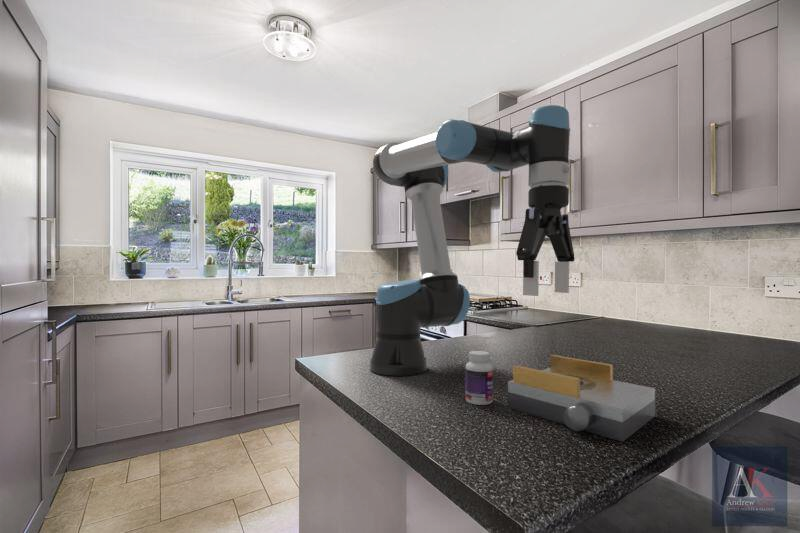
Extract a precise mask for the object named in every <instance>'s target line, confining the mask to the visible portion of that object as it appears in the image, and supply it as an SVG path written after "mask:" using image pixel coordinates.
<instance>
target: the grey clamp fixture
mask: <svg viewBox="0 0 800 533" xmlns="http://www.w3.org/2000/svg"><path fill="white" fill-rule="evenodd" d="M549 356H550V363H549V364H550V367H547V368H544V369H542V370H541V369H538V368H537V369H536V368H532V367H526V366H522V365H517V364H516V365H514V366H512V372H513V373H512V379H511V380H509V381H507V408H508V409H512V410H514V411H517V412H521V413H525V414H527V415H531V416H534V417H539V418H541V419H544V420H548V421H552V422H555V423H558V424H561V425H564V426H567V427H568V428H569V429H571V430H573V432H581V431H584V432H589V433H591V434H595V435H599V436H602V437H605V438H608V439H611V440H615V441H619V442H621V443H624V442H625V441H626V440H627V439H628V438H630V437H631V436H632V435H634V434H635V433H636V432H638V430H640V429H641V428H642V427H644V426H645V425H646V424H648V423H649V422H650V421H651V420H652V419H654V418H655V417H656V388H655V387H649V386H645V385H640V384H634V383H630V382H624V381H620V380H614V378H613V376H614V371H613V370H614V369H613V368H614V367H613V366H614V365H613V364H611V363H605V362H597V361H592V360H587V359H586V360H585V359H581V358H580V359H579V358H574V357H569V356H568V357H567V356H563V355H558V354H551V355H549Z"/></svg>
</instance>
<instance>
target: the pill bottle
mask: <svg viewBox="0 0 800 533" xmlns="http://www.w3.org/2000/svg"><path fill="white" fill-rule="evenodd" d="M468 353H469V354H468V359H469V361H468V362H467V363H466V364H465V401H466V402H467V403H469V404H472V405H477V406H485V405H490V404H491V403H493V400H494V367H493V365H492V364H491V363H490V362H489V361H490V352H488V351H484V350H471V351H469V352H468Z"/></svg>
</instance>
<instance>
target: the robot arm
mask: <svg viewBox="0 0 800 533" xmlns="http://www.w3.org/2000/svg"><path fill="white" fill-rule="evenodd" d="M527 122H528V126H525V127H524V128H521V129H518V130H516V131H513V132H511V131H505V130H502V129H498V128H494V127H488V126H486V125H480V124H477V123H472V122H469V121H467V120H465V119H462V120H461V119H458V120H457V119H447V120H445V121H444V122H443V123H442V125H440V126H439V128H438V130H437V131H436V132H434V133H431V134H427V135H425V136H420V137H418V138H415V139H412V140H408V141H405V142H403V143H398V142H390V143H386V144H384V145H383V146H381V147H379V148H378V149H377V150H376V152H375V154H374V156H373V159H372V166H373V171H374V174H376V176H377V177H378V179H379V180H381V181H382V182H383V183H385V184H387V185H391V186H396V187H401V188H404V194H405V197H406V199H408V200H409V201H411V208H412V215H413V224H414V230H415V237H416V244H417V245H416V246H417V251H418V252H417V253H418V258H419V265H420V272H421V273H420V274H421V275H420V277H419V278H418V279H408V280H399V281H397V280H396V281H391V282H386V283H383V284H380V286H378V288H377V290H376V292H377V293H376V301H375V304H376V341H375V345H374V346H373V347H374V348H373V351H372V355H371V358H370V360H369V371H371V372H373V373H374V374H379V375H383V376H384V375H385V376H395V377H396V376H397V377H398V376H399V377H401V376H413V375H419V374H422V373H425V372H426V371H427V369H428V364H427V363H428V361H427V360H428V359H427V358H426V357H425V352H424V349H423V345H422V341H421V328H431V327H449V326H452V325H457V324H460V323H462V322H463V321H464V320H465V319H466V317H467V314H468V313H469V310H470V305H471V298H470V297H471V296H470V293H469V291H468V289H467V288H466V286H465V285H463V284H461V283H459V280H458V274H456V273H454V272H453V271H452V269H451V263H450V257H449V250H448V244H447V237H446V230H445V224H444V218H443V212H442V205H441V200H440V195H441V194H442V193H443V192H444V188H445V187H446V185H447V183H448V178H447V177H449V167H448V165H453V164H460V163H465V162H466V163H467V162H468V163H473V164H480V165H483V166H484V165H485V166H486V167H487V168H489V170H491V171H492V172H494V173H502V172H505V173H506V172H509V171H513V170H514V169H518V168H521V167H524V166H527V165H528V187H529V190H528V194H527V195H528V196H527V197H528V203H527V204H528V207H529V208H526V209H525V215H524V216H525V217H524V221H523V222H524V223H523V226H522V230H521V235H520V238H519V241H518V245H517V248H516V253H515V254H516V257H517V260H518V261H522V263H523V264H522V265H523V266H522V267H523V269H522V274H523V275H522V277H523V278H522V296H532V297H538V296H539V284H540V283H539V278H540V277H539V276H540V274H539V270H540V269H539V268H540V266H539V265H540V261H539V260H537V257H538V255H539V253H540V250H541V248H542V245H543V243H544V240H545V238H546V237H547V238H549V241H550V243H551V246H552V249H553V251H554V254H555V258H556V260H557V261H555V262H554V293H562V294H569V293H570V262H574V261H575V251H574V248H573V246H574V245H573V243H572V241H573V240H572V237H571V231H570V226H569V223H570V222H569V214H567V213H566V214H565V213H563V214H562V212H561V210H562V208H566V207H568V205H569V203H570V201H569V200H570V198H569V196H570V195H569V194H570V191H569V187H567V186H568V184H570V183H569V180H570V179H569V176H570V175H569V174H570V172H571V171H572V169H571V167H570V159H569V150H570V136H571V134H570V133H571V128H570V113H569V110H568V109H567V108H566V107H564V106H561V105H556V104H555V105H554V104H550V105H544V106H540V107H537V108H535V109H534V110H533V111H532V112H531V113H530V114H529V118H528V121H527Z"/></svg>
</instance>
